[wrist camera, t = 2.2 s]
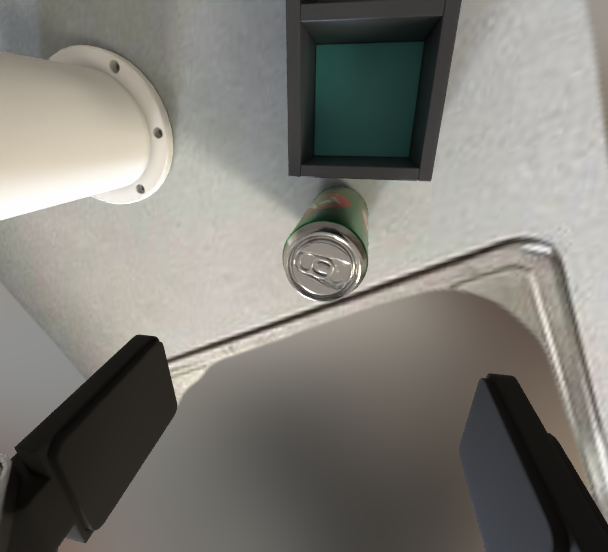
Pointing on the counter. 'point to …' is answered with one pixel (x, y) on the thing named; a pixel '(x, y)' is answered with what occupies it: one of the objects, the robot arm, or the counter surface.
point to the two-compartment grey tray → (367, 86)
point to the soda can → (329, 246)
